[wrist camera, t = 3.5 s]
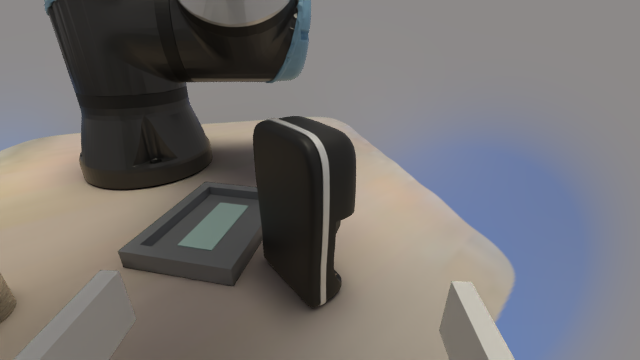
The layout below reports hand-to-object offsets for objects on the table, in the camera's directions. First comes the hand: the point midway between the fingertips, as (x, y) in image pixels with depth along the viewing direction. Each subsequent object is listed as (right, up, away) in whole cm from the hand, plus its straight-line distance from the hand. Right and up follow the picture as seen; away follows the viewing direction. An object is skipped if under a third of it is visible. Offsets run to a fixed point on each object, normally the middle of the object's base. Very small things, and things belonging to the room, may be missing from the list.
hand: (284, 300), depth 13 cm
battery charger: (0, -2, +11) cm, 11 cm away
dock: (-8, 0, +15) cm, 17 cm away
